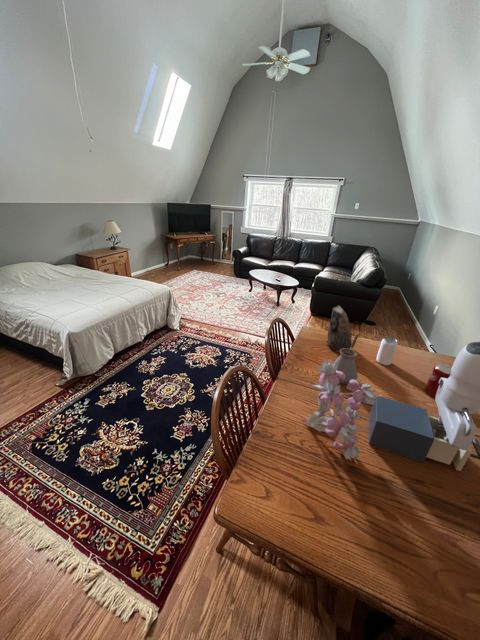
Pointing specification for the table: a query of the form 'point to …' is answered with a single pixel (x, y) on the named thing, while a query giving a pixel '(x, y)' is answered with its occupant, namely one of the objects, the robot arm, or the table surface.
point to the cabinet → (400, 428)
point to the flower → (339, 408)
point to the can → (387, 351)
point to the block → (438, 433)
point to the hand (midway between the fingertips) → (443, 434)
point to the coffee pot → (347, 363)
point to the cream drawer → (450, 450)
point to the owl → (339, 330)
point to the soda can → (437, 378)
